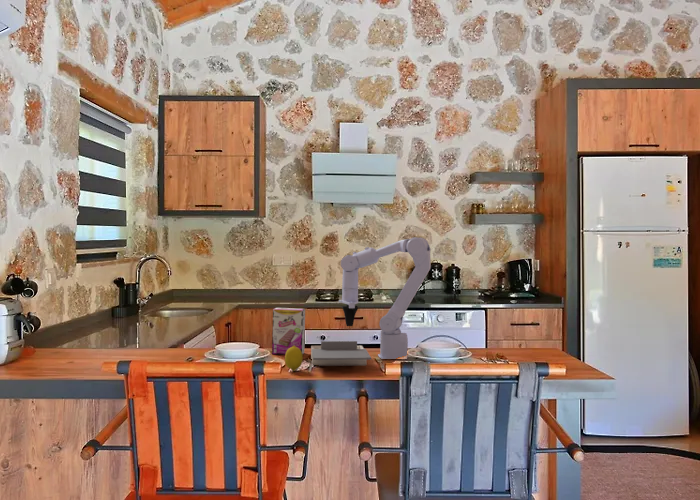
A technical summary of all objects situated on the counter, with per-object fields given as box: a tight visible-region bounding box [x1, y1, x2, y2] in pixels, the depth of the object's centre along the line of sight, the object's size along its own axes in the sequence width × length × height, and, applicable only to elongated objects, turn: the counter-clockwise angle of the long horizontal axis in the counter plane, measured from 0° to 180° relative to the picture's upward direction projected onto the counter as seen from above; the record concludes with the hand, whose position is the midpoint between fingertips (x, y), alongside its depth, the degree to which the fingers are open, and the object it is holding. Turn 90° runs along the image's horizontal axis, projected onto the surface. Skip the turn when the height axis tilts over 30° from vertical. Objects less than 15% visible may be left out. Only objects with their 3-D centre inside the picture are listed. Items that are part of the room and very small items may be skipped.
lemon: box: [284, 346, 303, 372], centre depth 177 cm, size 6×6×8 cm
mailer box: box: [310, 345, 368, 367], centre depth 192 cm, size 18×14×4 cm
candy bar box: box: [271, 307, 306, 355], centre depth 203 cm, size 11×5×16 cm, turn 84°
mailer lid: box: [312, 340, 372, 361], centre depth 181 cm, size 18×14×3 cm
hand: (349, 326), depth 203 cm, fingers closed
